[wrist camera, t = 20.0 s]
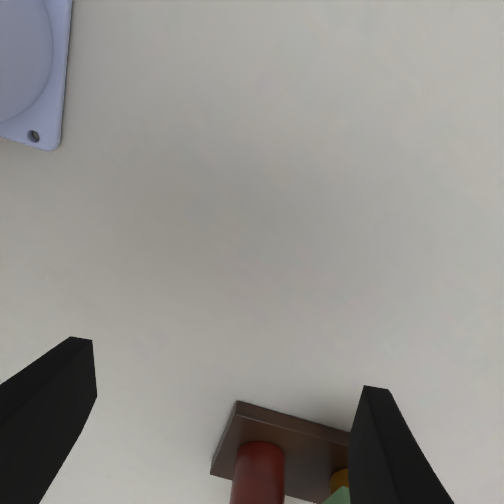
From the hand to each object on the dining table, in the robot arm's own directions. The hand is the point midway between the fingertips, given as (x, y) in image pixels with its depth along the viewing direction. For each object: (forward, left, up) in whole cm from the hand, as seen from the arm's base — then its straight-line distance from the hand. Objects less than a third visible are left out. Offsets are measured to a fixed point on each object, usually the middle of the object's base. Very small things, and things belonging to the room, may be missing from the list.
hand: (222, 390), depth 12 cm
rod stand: (+8, -15, -10) cm, 20 cm away
